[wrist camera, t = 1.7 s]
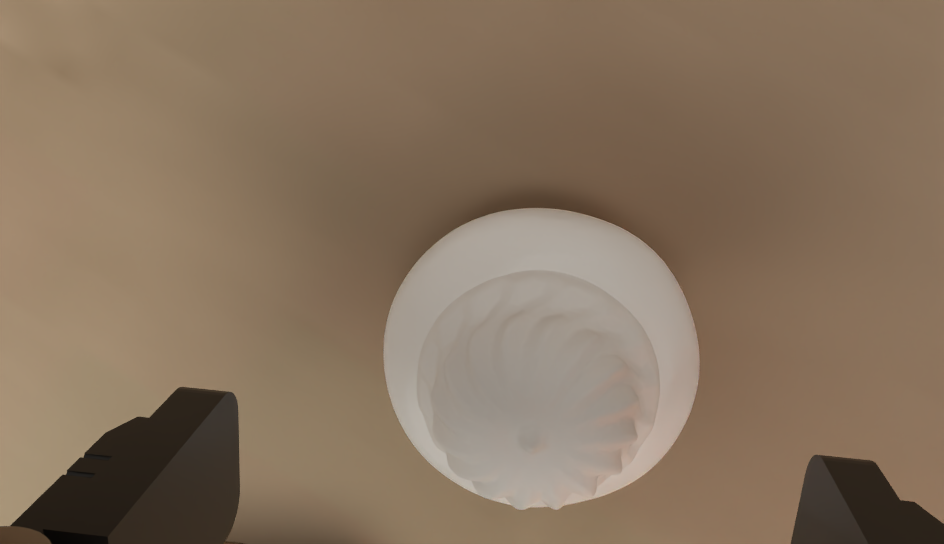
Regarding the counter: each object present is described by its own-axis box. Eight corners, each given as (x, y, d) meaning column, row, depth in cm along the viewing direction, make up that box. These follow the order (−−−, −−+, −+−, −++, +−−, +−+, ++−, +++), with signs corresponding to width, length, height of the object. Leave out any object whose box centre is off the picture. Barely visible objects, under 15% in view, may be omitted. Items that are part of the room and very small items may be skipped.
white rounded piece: (529, 113, 19) (505, 177, 13) (738, 289, 20) (819, 438, 13) (362, 313, 21) (264, 462, 14) (558, 468, 22) (549, 678, 15)
